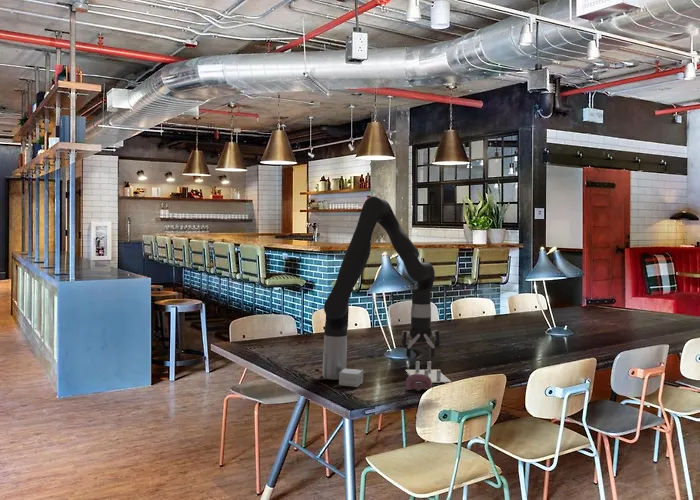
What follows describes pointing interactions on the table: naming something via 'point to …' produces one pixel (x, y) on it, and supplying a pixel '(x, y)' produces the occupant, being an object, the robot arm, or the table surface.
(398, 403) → the table surface
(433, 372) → the pin tray
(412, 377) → the maroon arch piece
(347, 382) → the small box
